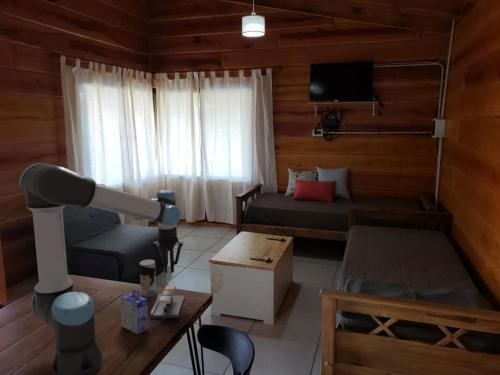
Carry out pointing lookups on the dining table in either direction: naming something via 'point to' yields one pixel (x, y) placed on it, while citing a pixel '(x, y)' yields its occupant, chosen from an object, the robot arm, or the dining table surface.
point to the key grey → (168, 293)
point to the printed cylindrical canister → (148, 278)
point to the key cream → (165, 300)
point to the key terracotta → (170, 287)
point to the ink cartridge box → (134, 312)
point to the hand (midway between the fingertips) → (169, 279)
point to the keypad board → (167, 308)
